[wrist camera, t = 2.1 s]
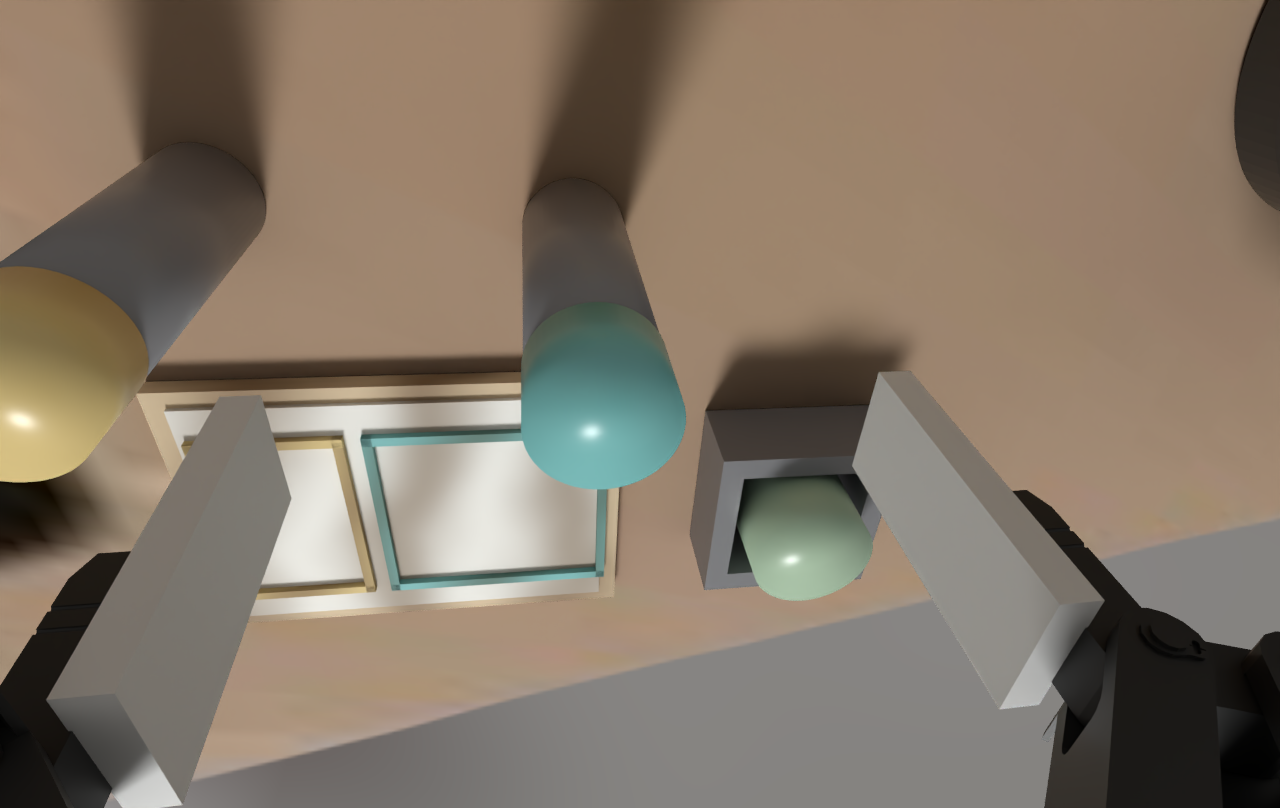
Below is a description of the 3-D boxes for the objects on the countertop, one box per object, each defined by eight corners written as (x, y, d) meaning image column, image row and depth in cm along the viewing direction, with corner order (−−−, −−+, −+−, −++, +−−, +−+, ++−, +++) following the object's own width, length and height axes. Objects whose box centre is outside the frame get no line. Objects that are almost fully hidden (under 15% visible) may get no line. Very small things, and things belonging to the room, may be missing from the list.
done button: (850, 451, 32) (885, 511, 28) (827, 533, 34) (857, 596, 31) (739, 456, 31) (763, 518, 28) (725, 540, 34) (745, 604, 31)
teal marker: (626, 177, 25) (693, 353, 15) (622, 275, 27) (679, 485, 17) (518, 176, 25) (517, 358, 15) (522, 276, 27) (524, 493, 17)
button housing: (868, 405, 32) (901, 453, 30) (834, 526, 37) (860, 579, 34) (705, 410, 31) (723, 461, 29) (689, 534, 36) (704, 589, 33)
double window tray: (621, 369, 30) (625, 386, 29) (612, 584, 37) (614, 604, 36) (145, 381, 27) (129, 401, 26) (236, 610, 34) (227, 633, 33)
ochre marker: (252, 141, 23) (52, 322, 13) (279, 251, 25) (123, 477, 15) (125, 139, 22) (-182, 325, 13) (163, 252, 24) (-74, 486, 15)
